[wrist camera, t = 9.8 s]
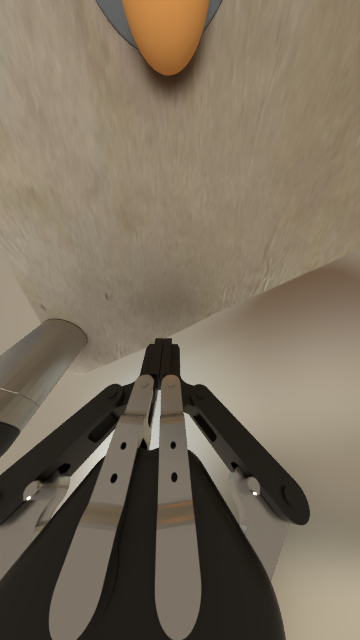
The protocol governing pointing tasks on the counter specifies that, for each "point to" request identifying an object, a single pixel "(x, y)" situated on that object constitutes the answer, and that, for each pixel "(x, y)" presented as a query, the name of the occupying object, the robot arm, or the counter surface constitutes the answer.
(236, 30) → the counter surface
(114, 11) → the disc
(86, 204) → the counter surface
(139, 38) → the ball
